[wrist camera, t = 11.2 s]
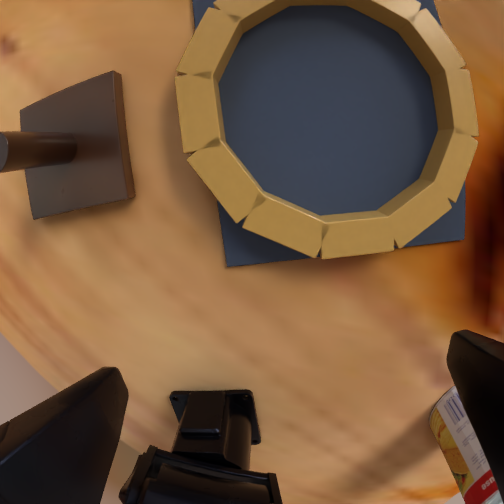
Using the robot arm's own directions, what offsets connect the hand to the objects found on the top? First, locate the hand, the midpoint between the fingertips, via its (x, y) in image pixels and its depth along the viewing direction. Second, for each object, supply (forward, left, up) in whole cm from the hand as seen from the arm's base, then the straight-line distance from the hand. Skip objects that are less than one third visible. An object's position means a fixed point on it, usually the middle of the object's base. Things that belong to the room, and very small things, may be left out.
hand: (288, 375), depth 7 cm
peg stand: (+8, +12, -12) cm, 19 cm away
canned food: (-18, -17, -12) cm, 28 cm away
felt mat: (+8, -5, -12) cm, 15 cm away
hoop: (+8, -5, -12) cm, 15 cm away
